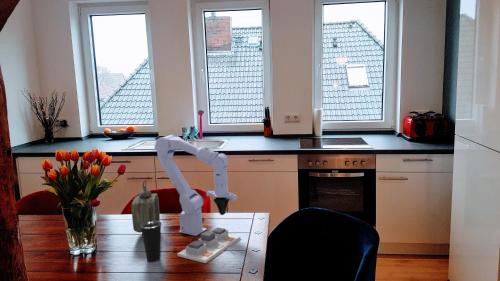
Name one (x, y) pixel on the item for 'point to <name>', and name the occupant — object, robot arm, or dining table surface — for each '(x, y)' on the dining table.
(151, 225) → the drinking cup
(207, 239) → the button middle
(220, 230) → the button far
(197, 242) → the button near
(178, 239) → the dining table surface
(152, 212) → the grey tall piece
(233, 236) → the button board
